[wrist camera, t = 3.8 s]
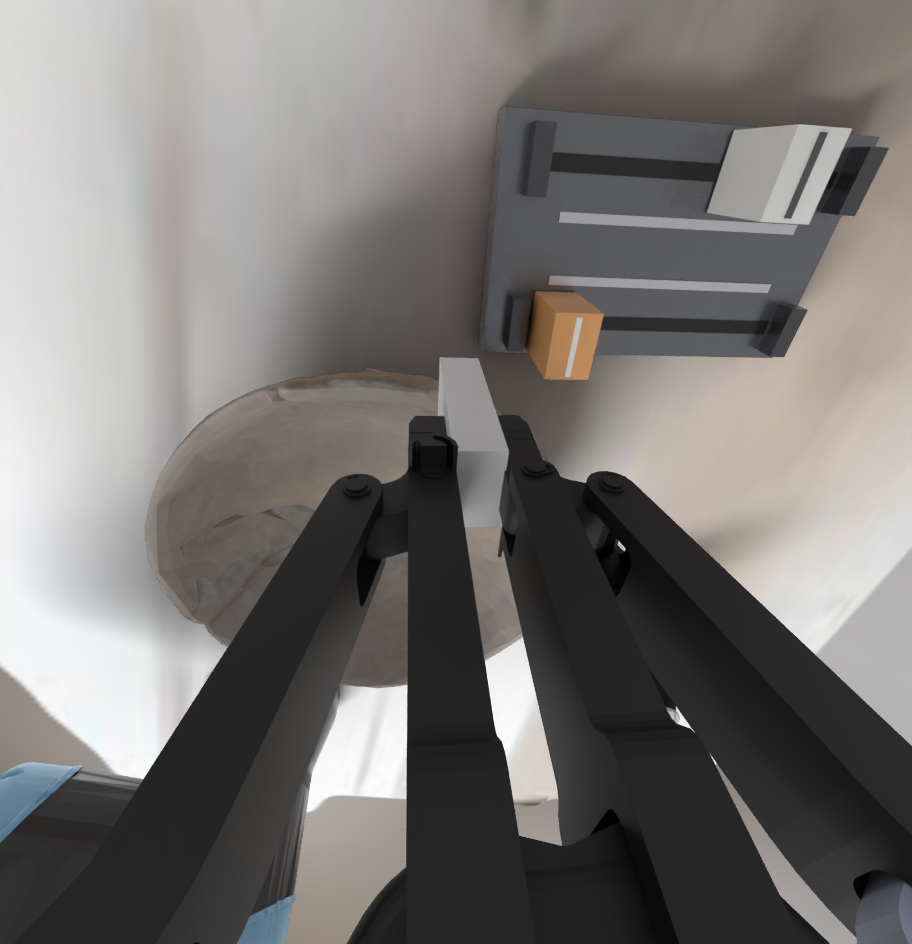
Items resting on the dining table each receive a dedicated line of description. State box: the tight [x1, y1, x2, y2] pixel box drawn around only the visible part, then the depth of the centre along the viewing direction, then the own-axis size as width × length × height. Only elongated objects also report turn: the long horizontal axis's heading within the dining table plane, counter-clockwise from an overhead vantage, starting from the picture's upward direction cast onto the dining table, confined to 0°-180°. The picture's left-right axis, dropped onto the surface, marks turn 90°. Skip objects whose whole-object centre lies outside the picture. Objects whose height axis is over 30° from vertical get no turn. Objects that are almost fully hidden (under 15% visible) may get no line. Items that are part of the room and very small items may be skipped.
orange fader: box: [526, 291, 604, 380], centre depth 25 cm, size 2×4×5 cm
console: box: [479, 107, 889, 358], centre depth 26 cm, size 20×12×3 cm, turn 87°
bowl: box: [145, 368, 550, 688], centre depth 32 cm, size 26×26×10 cm
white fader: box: [707, 124, 852, 225], centre depth 21 cm, size 2×4×5 cm
